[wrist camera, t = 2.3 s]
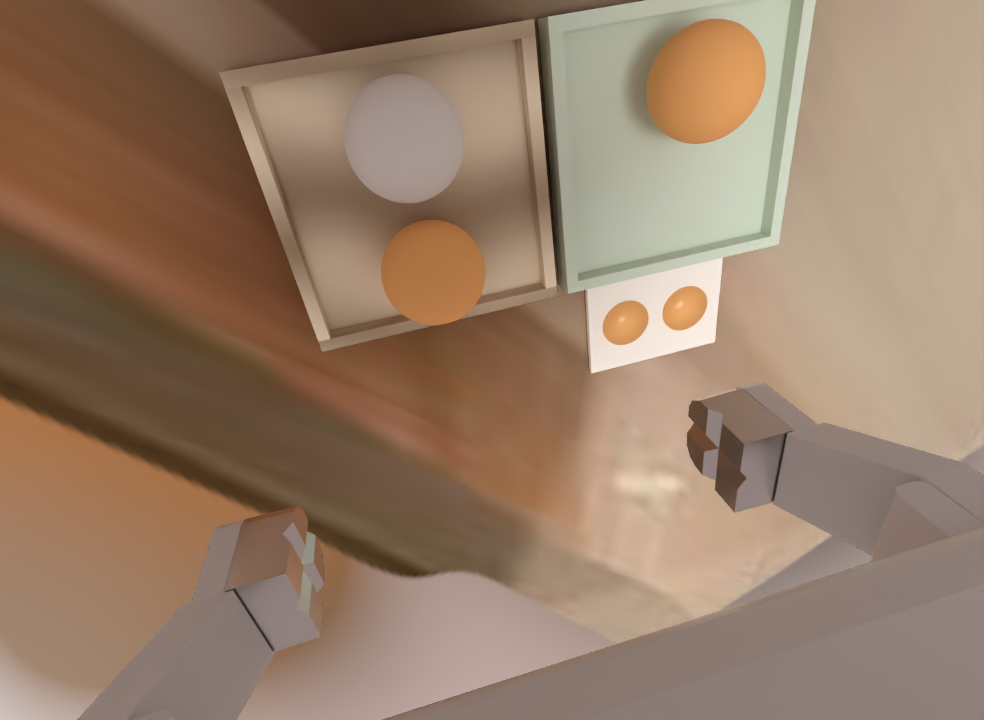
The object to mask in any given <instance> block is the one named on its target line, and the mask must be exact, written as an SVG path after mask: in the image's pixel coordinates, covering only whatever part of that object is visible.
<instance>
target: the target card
mask: <svg viewBox="0 0 984 720" xmlns="http://www.w3.org/2000/svg"><path fill="white" fill-rule="evenodd" d="M722 261H723V258H719V259H714V260H710V261H706V262H702V263H697V264H693V265H689V266H685V267H680V268H676V269H672V270H668V271H663V272H659V273H655V274H651V275H646V276H642V277H638V278H634V279H629V280H625V281H621V282H617V283H612V284H608V285H604V286H600V287H595V288H591V289H587V290H585V300H586V319H587V338H588V356H589V371H590V372H591V373H595V372H599V371H603V370H607V369H611V368H615V367H619V366H623V365H627V364H631V363H634V362H638V361H642V360H646V359H650V358H654V357H658V356H662V355H666V354H670V353H673V352H677V351H681V350H685V349H689V348H693V347H697V346H701V345H705V344H709V343H713V342H715V334H716V323H717V313H718V302H719V292H720V282H721V271H722Z"/></svg>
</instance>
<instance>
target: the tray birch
mask: <svg viewBox="0 0 984 720" xmlns="http://www.w3.org/2000/svg"><path fill="white" fill-rule="evenodd" d="M219 74H220V77H221V80H222V83H223V85H224V88H225V91H226V93H227V96H228V99H229V101H230V104H231V107H232V110H233V112H234V115H235V118H236V120H237V123H238V126H239V128H240V131H241V134H242V137H243V139H244V142H245V145H246V147H247V150H248V153H249V156H250V158H251V161H252V164H253V166H254V169H255V172H256V174H257V177H258V180H259V183H260V185H261V188H262V191H263V193H264V196H265V199H266V201H267V204H268V207H269V210H270V212H271V215H272V218H273V220H274V223H275V226H276V228H277V231H278V234H279V237H280V239H281V242H282V245H283V247H284V250H285V253H286V256H287V258H288V261H289V264H290V266H291V269H292V272H293V274H294V277H295V280H296V283H297V285H298V288H299V291H300V293H301V296H302V299H303V301H304V304H305V307H306V310H307V312H308V315H309V318H310V320H311V323H312V326H313V328H314V331H315V334H316V337H317V339H318V342H319V345H320V347H321V350H322V352H324V351H328V350H332V349H336V348H341V347H345V346H349V345H353V344H358V343H362V342H366V341H370V340H375V339H379V338H383V337H387V336H392V335H396V334H400V333H404V332H409V331H413V330H417V329H421V328H426V327H430V326H434V325H426V324H421V323H418V322H415V321H413V320H411V319H409V318H407V317H406V316H404V315H402V314H401V313H400V312H399V311H398V310H397V309H396V308H395V307H394V306H393V305H392V303H391V302H390V300H389V299H388V297H387V295H386V293H385V291H384V288H383V285H382V280H381V263H382V258H383V255H384V252H385V250H386V248H387V246H388V244H389V243H390V241H391V240H392V239H393V237H394V236H395V235H396V234H397V233H398V232H399V231H401V230H402V229H403V228H405V227H407V226H408V225H410V224H413V223H415V222H419V221H423V220H442V221H446V222H449V223H452V224H454V225H456V226H458V227H460V228H462V229H463V230H464V231H466V232H467V233H468V234H469V235H470V236H471V237H472V238H473V239H474V241H475V242H476V243H477V245H478V247H479V249H480V251H481V253H482V256H483V258H484V263H485V272H486V275H485V284H484V288H483V291H482V294H481V296H480V298H479V300H478V301H477V303H476V304H475V306H474V307H473V308H472V309H471V310H470V311H469V312H468V313H467V314H465V315H464V316H463V317H461V318H459V319H458V320H460V319H464V318H468V317H472V316H477V315H481V314H485V313H489V312H493V311H498V310H502V309H506V308H510V307H515V306H519V305H523V304H527V303H532V302H536V301H540V300H544V299H549V298H553V297H557V285H556V273H555V261H554V249H553V238H552V226H551V214H550V202H549V190H548V178H547V167H546V155H545V143H544V131H543V119H542V107H541V96H540V84H539V72H538V60H537V48H536V36H535V25H534V19H531V20H525V21H519V22H513V23H507V24H501V25H495V26H490V27H484V28H478V29H472V30H466V31H460V32H454V33H448V34H442V35H436V36H430V37H424V38H418V39H412V40H406V41H400V42H394V43H388V44H382V45H377V46H371V47H365V48H359V49H353V50H347V51H341V52H335V53H329V54H323V55H317V56H311V57H305V58H299V59H293V60H287V61H281V62H275V63H269V64H264V65H258V66H252V67H246V68H240V69H234V70H228V71H222V72H219ZM394 74H408V75H413V76H417V77H420V78H423V79H425V80H427V81H429V82H431V83H432V84H434V85H435V86H436V87H438V88H439V89H440V90H441V91H442V92H443V93H444V94H445V95H446V96H447V97H448V98H449V99H450V101H451V102H452V104H453V105H454V107H455V108H456V110H457V112H458V114H459V117H460V120H461V122H462V126H463V131H464V154H463V159H462V162H461V166H460V168H459V170H458V172H457V174H456V176H455V178H454V179H453V181H452V182H451V183H450V184H449V185H448V186H447V187H446V189H444V190H443V191H442V192H441V193H439V194H438V195H436V196H434V197H433V198H430V199H428V200H426V201H422V202H417V203H399V202H394V201H390V200H388V199H385V198H383V197H381V196H379V195H377V194H375V193H374V192H373V191H371V190H370V189H369V188H368V187H366V186H365V185H364V184H363V183H362V181H361V180H360V179H359V178H358V177H357V175H356V174H355V172H354V170H353V169H352V167H351V164H350V162H349V160H348V157H347V154H346V150H345V145H344V124H345V119H346V115H347V112H348V110H349V108H350V105H351V103H352V102H353V100H354V99H355V97H356V96H357V95H358V93H359V92H360V91H361V90H362V89H363V88H364V87H366V86H367V85H368V84H370V83H371V82H373V81H374V80H376V79H379V78H381V77H384V76H388V75H394Z"/></svg>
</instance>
